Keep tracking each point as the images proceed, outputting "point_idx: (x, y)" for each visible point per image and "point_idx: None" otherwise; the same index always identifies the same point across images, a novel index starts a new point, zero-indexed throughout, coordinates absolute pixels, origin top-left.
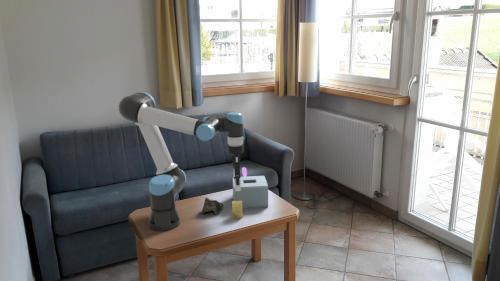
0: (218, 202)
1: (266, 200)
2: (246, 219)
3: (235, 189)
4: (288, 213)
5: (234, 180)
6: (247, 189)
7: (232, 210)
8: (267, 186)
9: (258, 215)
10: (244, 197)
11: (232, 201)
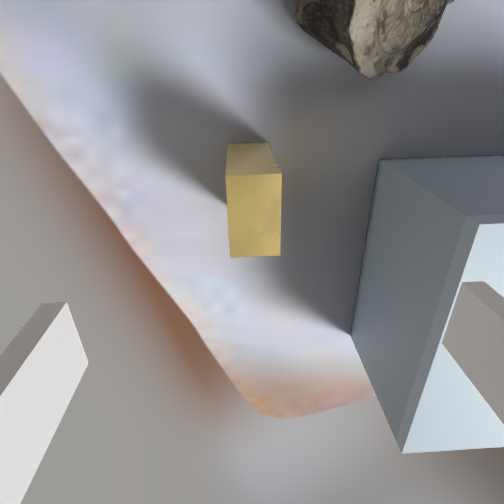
0: (347, 20)
1: (364, 356)
2: (204, 229)
3: (28, 327)
4: (260, 399)
5: (469, 301)
6: (426, 321)
7: (227, 158)
8: (399, 445)
9: (253, 290)
10: (399, 260)
11: (270, 178)
